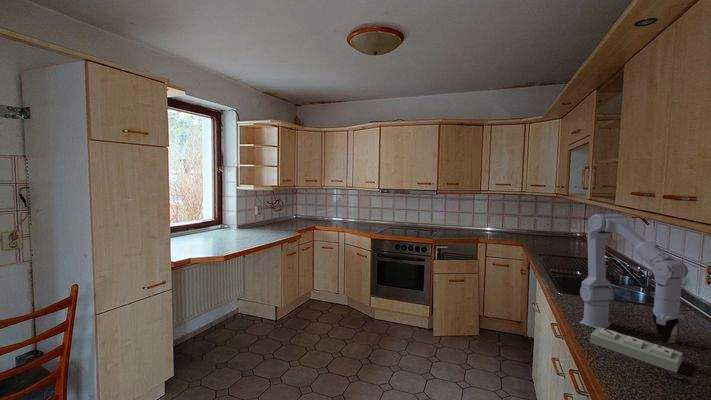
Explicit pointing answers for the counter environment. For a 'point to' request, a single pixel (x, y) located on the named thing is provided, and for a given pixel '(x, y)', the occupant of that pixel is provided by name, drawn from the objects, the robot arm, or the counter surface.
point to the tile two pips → (662, 351)
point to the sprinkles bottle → (673, 335)
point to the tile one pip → (634, 342)
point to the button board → (637, 351)
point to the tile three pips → (608, 333)
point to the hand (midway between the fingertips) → (663, 340)
